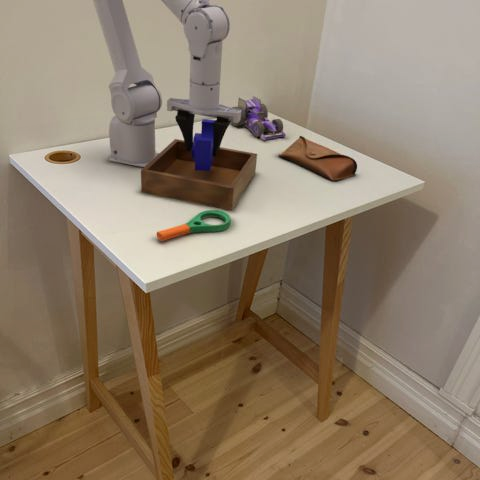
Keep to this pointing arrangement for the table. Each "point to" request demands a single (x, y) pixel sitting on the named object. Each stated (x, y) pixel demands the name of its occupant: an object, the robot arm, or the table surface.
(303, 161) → the sunglasses case
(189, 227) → the magnifying glass
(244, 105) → the toy race car
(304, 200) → the table surface
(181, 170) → the crate
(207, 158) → the cable clip
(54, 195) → the table surface
